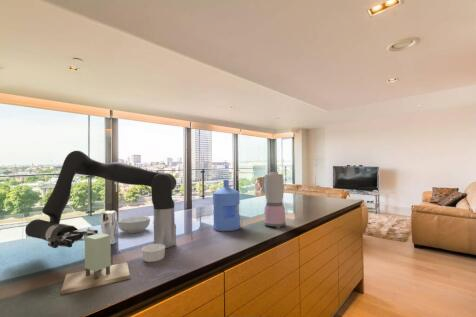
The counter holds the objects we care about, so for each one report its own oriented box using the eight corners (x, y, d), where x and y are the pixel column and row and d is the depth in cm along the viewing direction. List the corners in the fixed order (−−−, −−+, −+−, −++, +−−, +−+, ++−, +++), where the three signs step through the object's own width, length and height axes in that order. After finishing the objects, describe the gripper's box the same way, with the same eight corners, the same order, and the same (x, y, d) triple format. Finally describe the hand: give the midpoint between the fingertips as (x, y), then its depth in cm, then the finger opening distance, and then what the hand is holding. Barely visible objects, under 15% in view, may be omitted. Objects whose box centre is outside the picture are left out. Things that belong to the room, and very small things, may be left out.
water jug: (207, 229, 135) (206, 180, 136) (224, 223, 147) (223, 179, 148) (229, 233, 126) (228, 181, 127) (245, 226, 139) (244, 179, 140)
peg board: (126, 265, 87) (126, 255, 87) (129, 278, 76) (129, 266, 76) (66, 277, 78) (66, 266, 78) (61, 294, 67) (61, 281, 67)
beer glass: (110, 245, 109) (109, 213, 110) (97, 245, 111) (97, 213, 111) (120, 241, 116) (120, 210, 117) (108, 240, 118) (108, 210, 118)
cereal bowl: (156, 229, 136) (156, 217, 137) (129, 237, 122) (129, 223, 123) (138, 226, 145) (138, 215, 146) (111, 233, 131) (111, 220, 132)
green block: (84, 267, 76) (84, 236, 77) (100, 262, 81) (100, 232, 81) (95, 271, 73) (95, 239, 74) (110, 265, 78) (110, 235, 78)
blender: (290, 225, 139) (288, 171, 140) (277, 229, 131) (275, 172, 132) (269, 221, 151) (268, 171, 152) (256, 225, 143) (255, 172, 144)
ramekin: (165, 261, 90) (165, 249, 90) (140, 264, 88) (140, 252, 88) (165, 253, 99) (165, 242, 99) (143, 255, 96) (143, 245, 96)
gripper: (38, 229, 83) (61, 234, 75) (82, 220, 96) (105, 224, 87) (38, 250, 83) (61, 258, 75) (81, 239, 95) (105, 245, 87)
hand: (84, 240), depth 81 cm, fingers open, 8 cm apart
